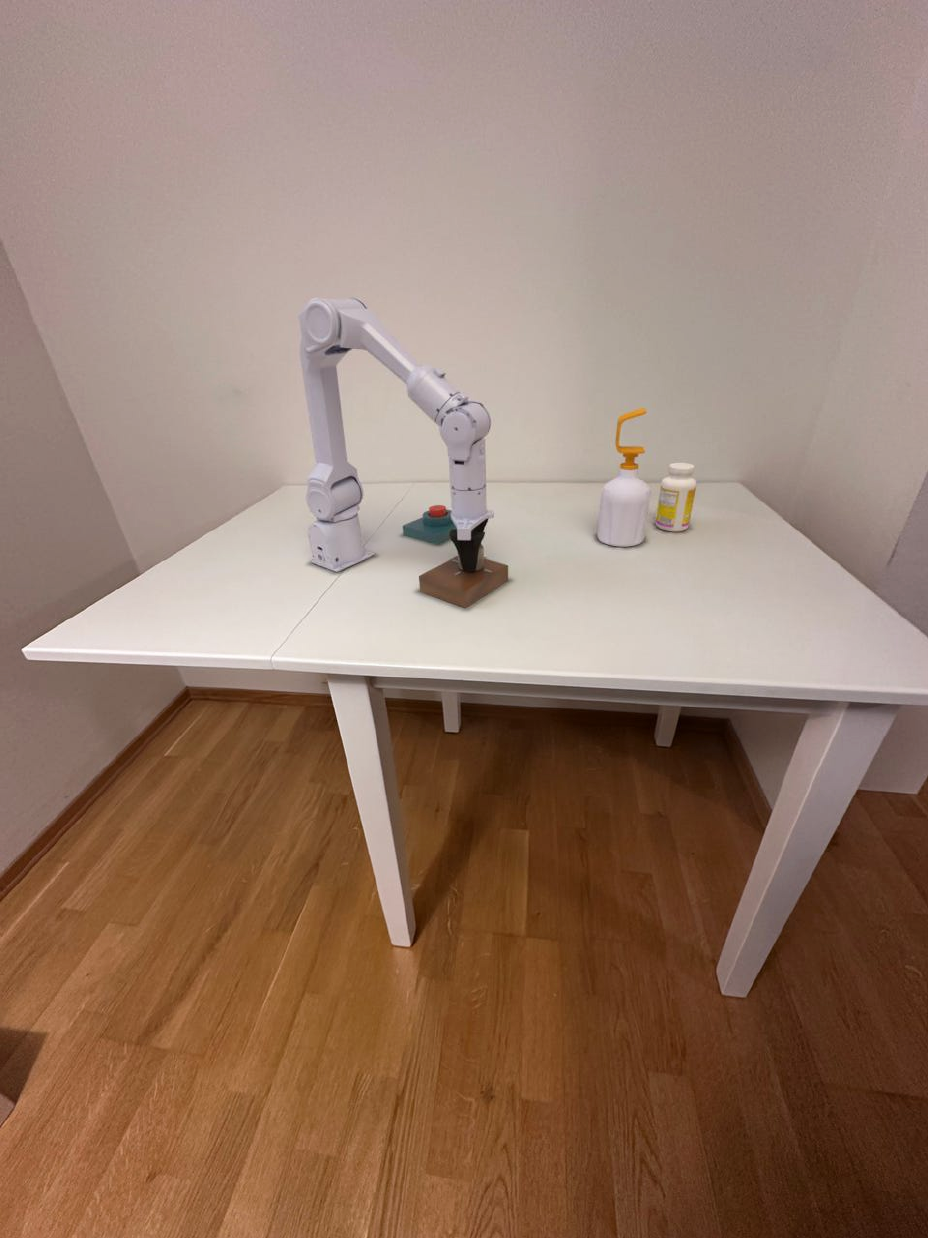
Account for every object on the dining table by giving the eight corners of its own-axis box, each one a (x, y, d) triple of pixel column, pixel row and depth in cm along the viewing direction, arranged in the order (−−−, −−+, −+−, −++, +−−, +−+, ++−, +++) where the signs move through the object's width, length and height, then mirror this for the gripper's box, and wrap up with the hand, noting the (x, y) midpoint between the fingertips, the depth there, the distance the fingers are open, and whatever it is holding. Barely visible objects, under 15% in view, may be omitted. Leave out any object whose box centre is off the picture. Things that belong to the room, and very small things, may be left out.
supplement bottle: (683, 521, 110) (694, 460, 104) (692, 532, 105) (704, 469, 98) (651, 521, 111) (660, 461, 104) (658, 532, 105) (668, 470, 99)
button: (438, 519, 107) (438, 511, 106) (426, 516, 109) (425, 508, 108) (449, 514, 110) (449, 506, 109) (437, 511, 112) (436, 503, 111)
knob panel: (465, 608, 82) (464, 591, 80) (420, 591, 87) (418, 575, 86) (509, 579, 90) (509, 563, 88) (465, 566, 95) (464, 550, 94)
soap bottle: (645, 548, 99) (666, 413, 86) (597, 546, 100) (610, 414, 88) (641, 531, 106) (659, 405, 94) (596, 530, 108) (608, 405, 95)
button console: (438, 545, 105) (436, 526, 102) (403, 535, 110) (401, 517, 108) (474, 527, 112) (473, 509, 110) (440, 518, 118) (439, 502, 116)
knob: (482, 571, 86) (482, 551, 84) (456, 571, 87) (455, 550, 85) (485, 560, 90) (484, 540, 88) (460, 560, 90) (459, 540, 88)
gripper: (489, 500, 74) (490, 583, 81) (496, 472, 87) (497, 547, 94) (441, 500, 75) (447, 582, 82) (455, 473, 87) (459, 546, 94)
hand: (471, 563), depth 88 cm, fingers closed on knob, 4 cm apart
